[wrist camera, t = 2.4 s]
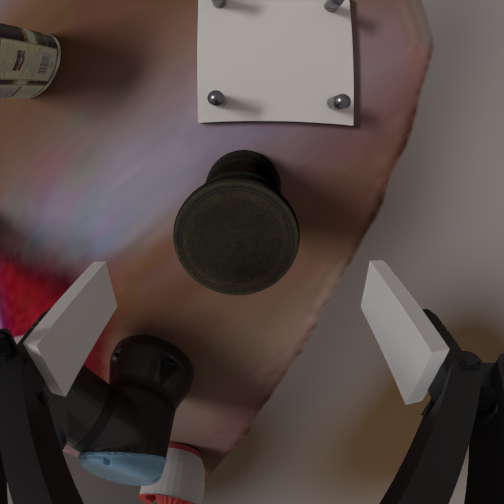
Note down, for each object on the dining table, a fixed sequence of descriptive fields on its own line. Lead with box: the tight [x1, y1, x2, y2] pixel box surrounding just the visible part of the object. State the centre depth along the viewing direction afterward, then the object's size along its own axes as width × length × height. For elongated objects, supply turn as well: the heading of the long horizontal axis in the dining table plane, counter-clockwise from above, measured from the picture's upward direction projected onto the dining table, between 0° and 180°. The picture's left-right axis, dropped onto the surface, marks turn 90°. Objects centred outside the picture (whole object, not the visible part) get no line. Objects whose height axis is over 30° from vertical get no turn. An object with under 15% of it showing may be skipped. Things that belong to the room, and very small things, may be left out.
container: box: [173, 150, 300, 295], centre depth 28 cm, size 9×9×18 cm
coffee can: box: [0, 24, 61, 99], centre depth 21 cm, size 10×10×14 cm
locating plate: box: [197, 0, 354, 126], centre depth 26 cm, size 18×18×5 cm
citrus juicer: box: [138, 442, 205, 504], centre depth 54 cm, size 16×17×20 cm
